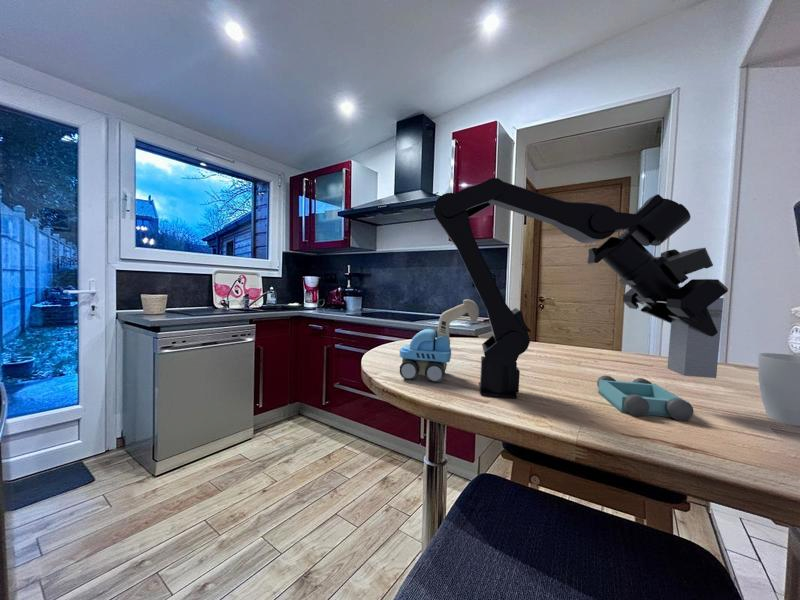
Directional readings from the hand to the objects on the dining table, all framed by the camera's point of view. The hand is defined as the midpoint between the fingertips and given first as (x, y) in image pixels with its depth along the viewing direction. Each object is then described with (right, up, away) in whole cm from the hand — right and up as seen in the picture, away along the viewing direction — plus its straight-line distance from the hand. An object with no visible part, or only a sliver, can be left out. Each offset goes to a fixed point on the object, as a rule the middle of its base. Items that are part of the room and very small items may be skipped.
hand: (703, 332), depth 54 cm
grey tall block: (-2, -7, +1) cm, 7 cm away
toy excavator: (-43, -12, +16) cm, 47 cm away
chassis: (-9, -13, +3) cm, 16 cm away
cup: (+11, -14, -3) cm, 18 cm away
